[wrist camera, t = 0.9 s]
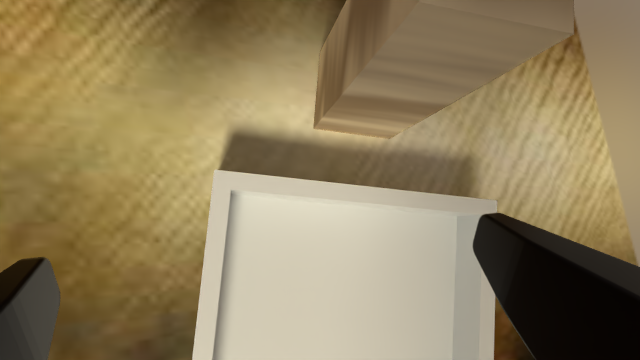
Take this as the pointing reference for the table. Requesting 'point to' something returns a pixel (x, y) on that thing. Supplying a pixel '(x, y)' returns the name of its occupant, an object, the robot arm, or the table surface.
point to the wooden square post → (424, 56)
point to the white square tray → (341, 273)
